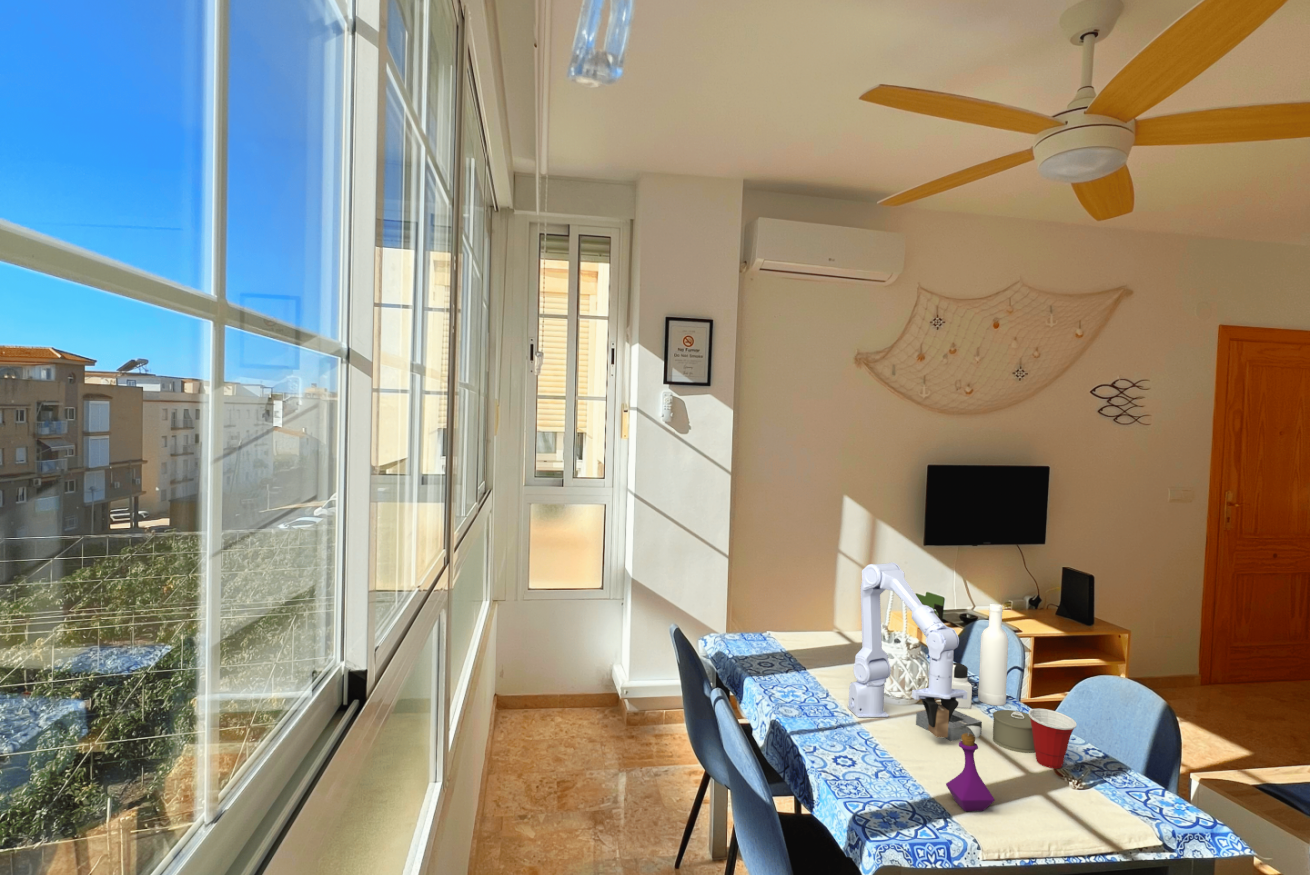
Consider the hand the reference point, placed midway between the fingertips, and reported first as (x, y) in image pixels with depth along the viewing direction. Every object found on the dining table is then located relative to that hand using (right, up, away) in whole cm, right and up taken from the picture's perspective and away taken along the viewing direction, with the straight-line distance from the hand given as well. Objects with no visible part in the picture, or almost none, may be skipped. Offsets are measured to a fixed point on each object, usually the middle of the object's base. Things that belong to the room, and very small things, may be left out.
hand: (938, 725), depth 197 cm
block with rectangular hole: (+7, -5, +10) cm, 13 cm away
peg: (0, -2, 0) cm, 2 cm away
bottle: (+29, -6, +34) cm, 45 cm away
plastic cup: (+24, -6, -10) cm, 27 cm away
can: (+22, -6, +2) cm, 23 cm away
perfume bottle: (-6, -5, -33) cm, 34 cm away
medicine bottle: (+17, -5, +31) cm, 35 cm away
